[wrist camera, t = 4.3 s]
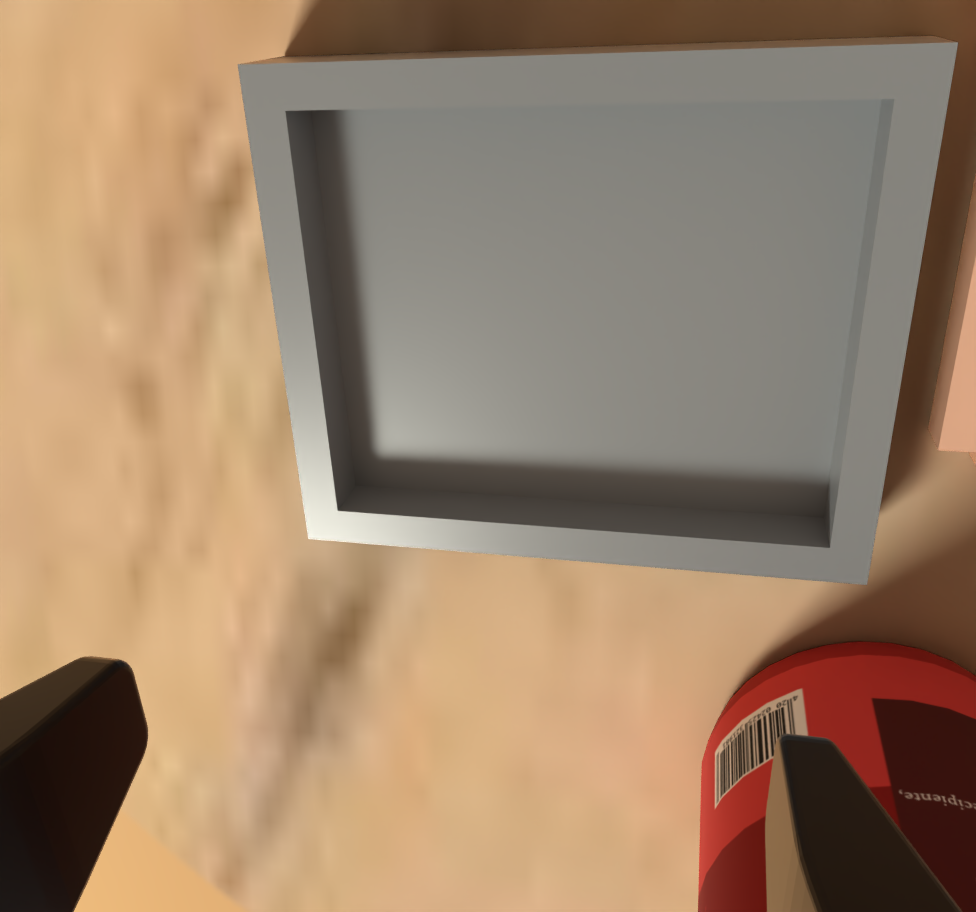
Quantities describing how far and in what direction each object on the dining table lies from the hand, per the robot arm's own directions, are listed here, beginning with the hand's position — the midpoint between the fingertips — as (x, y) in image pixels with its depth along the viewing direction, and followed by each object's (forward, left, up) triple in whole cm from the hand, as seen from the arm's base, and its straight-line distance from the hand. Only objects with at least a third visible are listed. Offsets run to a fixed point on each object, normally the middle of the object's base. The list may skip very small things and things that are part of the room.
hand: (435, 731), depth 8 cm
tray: (0, 0, -13) cm, 13 cm away
